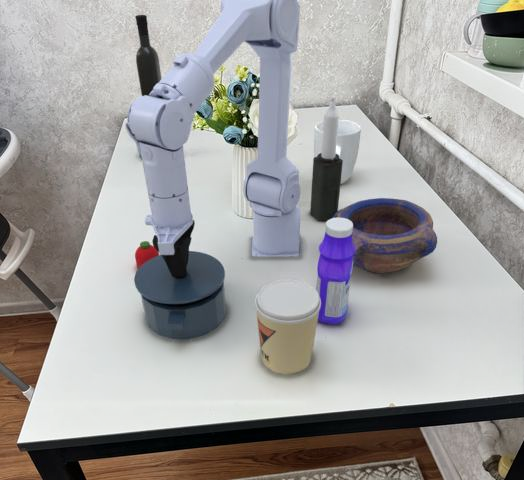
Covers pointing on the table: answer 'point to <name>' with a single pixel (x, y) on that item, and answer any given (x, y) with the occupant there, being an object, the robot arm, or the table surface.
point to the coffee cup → (287, 324)
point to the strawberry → (145, 253)
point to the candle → (327, 170)
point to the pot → (186, 316)
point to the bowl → (389, 233)
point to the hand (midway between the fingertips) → (179, 270)
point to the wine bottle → (146, 59)
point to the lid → (180, 279)
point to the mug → (342, 144)
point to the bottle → (335, 270)
